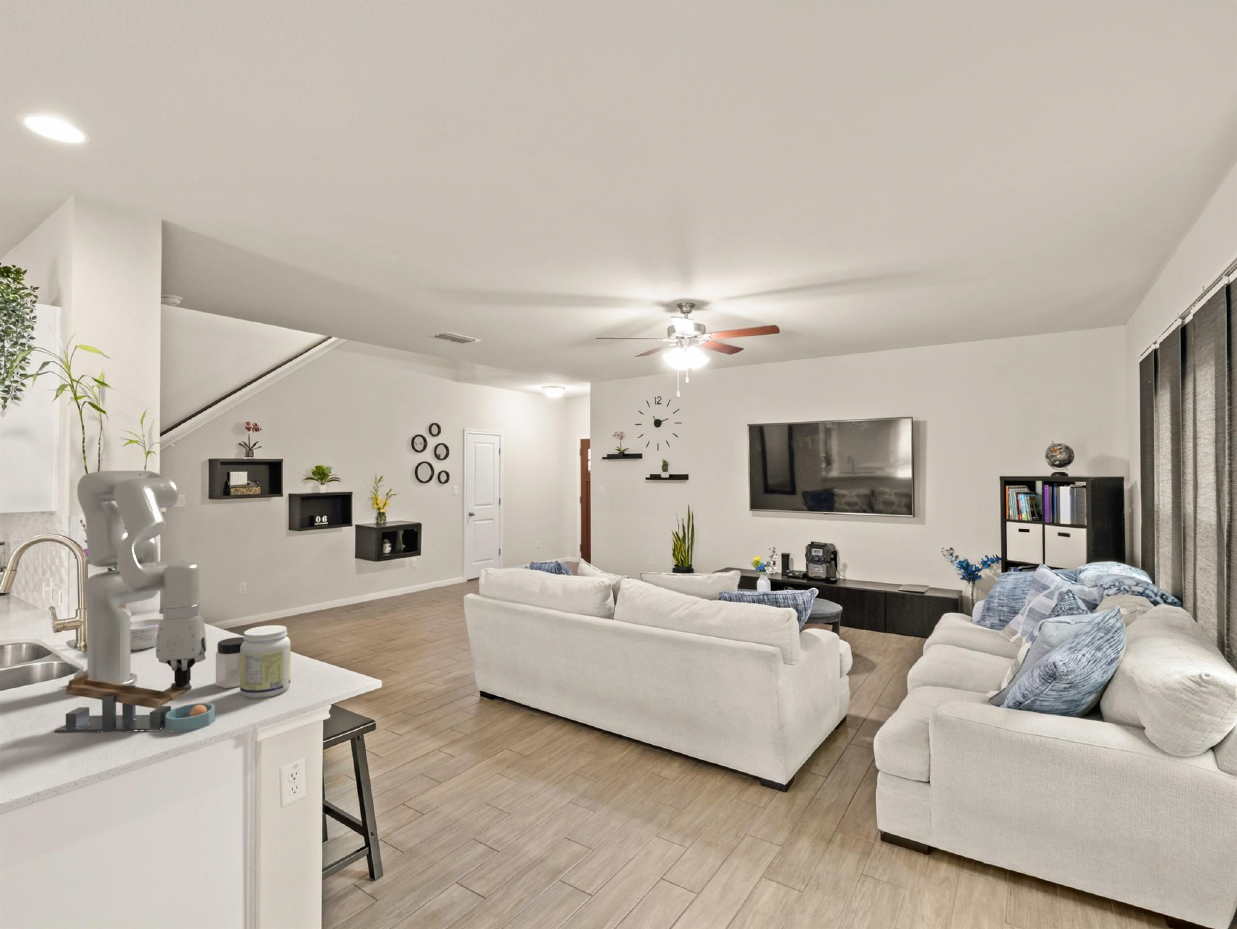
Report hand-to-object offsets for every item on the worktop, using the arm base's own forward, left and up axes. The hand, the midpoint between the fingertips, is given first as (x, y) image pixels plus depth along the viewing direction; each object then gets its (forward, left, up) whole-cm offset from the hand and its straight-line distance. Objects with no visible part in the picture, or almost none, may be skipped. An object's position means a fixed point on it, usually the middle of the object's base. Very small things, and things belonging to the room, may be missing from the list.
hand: (182, 684), depth 163 cm
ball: (+9, -8, -4) cm, 13 cm away
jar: (+2, +20, -7) cm, 21 cm away
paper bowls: (-48, +57, -7) cm, 74 cm away
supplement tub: (+14, +13, -7) cm, 20 cm away
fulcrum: (-10, -8, -6) cm, 14 cm away
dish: (+7, -8, -6) cm, 12 cm away
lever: (-9, -4, 0) cm, 10 cm away
